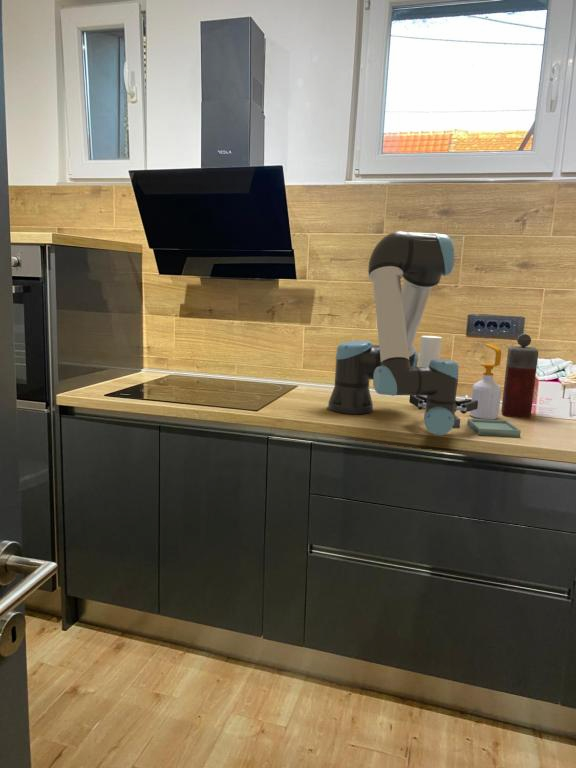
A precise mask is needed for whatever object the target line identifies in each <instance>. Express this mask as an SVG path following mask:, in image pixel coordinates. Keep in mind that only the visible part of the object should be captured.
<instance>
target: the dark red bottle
mask: <svg viewBox="0 0 576 768" xmlns="http://www.w3.org/2000/svg"><path fill="white" fill-rule="evenodd" d="M516 342H517V343H518V345H509V346H508V348H507V357H506V365H505V374H504V375H505V376H504V385H503V391H502V392H503V393H502V400H501V402H502V404H501V416H504V417H509V418H510V417H512V418H521V419H522V418H523V419H531V417H532V411H533V410H532V409H533V400H534V392H535V391H534V390H535V383H536V377H537V376H536V375H537V369H538V368H537V367H538V360H539V350H538V349H537V348H536V347H534V346H530V344H531V343H532V337H531V336H530V335H529V334H527V333H521V334H520V335H518V337H517V340H516Z"/></svg>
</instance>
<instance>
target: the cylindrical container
mask: <svg viewBox="0 0 576 768" xmlns="http://www.w3.org/2000/svg"><path fill="white" fill-rule="evenodd" d="M442 340H443V337H441V336H436V335H421V336H420V346H419V347H420V348H419V356H418V367H429V364H430V361H431V360H434V359H435V360H436V359H441V353H442V352H441V351H442ZM424 397H427V396H424ZM423 409H426V407H424V408H423Z"/></svg>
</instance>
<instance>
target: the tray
mask: <svg viewBox="0 0 576 768" xmlns="http://www.w3.org/2000/svg"><path fill="white" fill-rule="evenodd" d="M466 425H467V426H468V427H469V428H470V429H471V431H473V432H475V434H477V436H485V437H486V436H488V437H490V436H491V437H508V438H509V437H510V438H520V437H521V429H519V428H518V427H516V426H515V425H513V423H511V422H510V421H508V420H502V419H491V420H488V419H479V418H467V421H466Z"/></svg>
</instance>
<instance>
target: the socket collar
mask: <svg viewBox="0 0 576 768" xmlns="http://www.w3.org/2000/svg"><path fill="white" fill-rule="evenodd" d="M425 414H426V410H425V411H424V413H423V417H424V416H425ZM460 427H461V419H460V417H458V416H457V415H456V414H455V415H454V426H453V427H452V428H460Z"/></svg>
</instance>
